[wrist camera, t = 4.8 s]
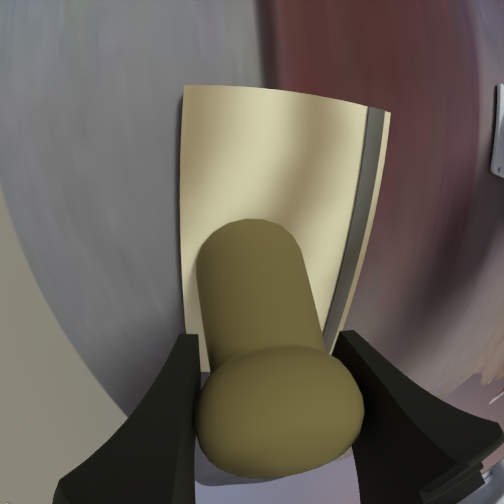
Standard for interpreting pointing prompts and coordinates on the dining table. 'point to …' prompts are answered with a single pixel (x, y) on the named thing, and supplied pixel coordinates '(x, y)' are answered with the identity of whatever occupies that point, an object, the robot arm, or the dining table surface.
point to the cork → (267, 359)
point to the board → (281, 184)
